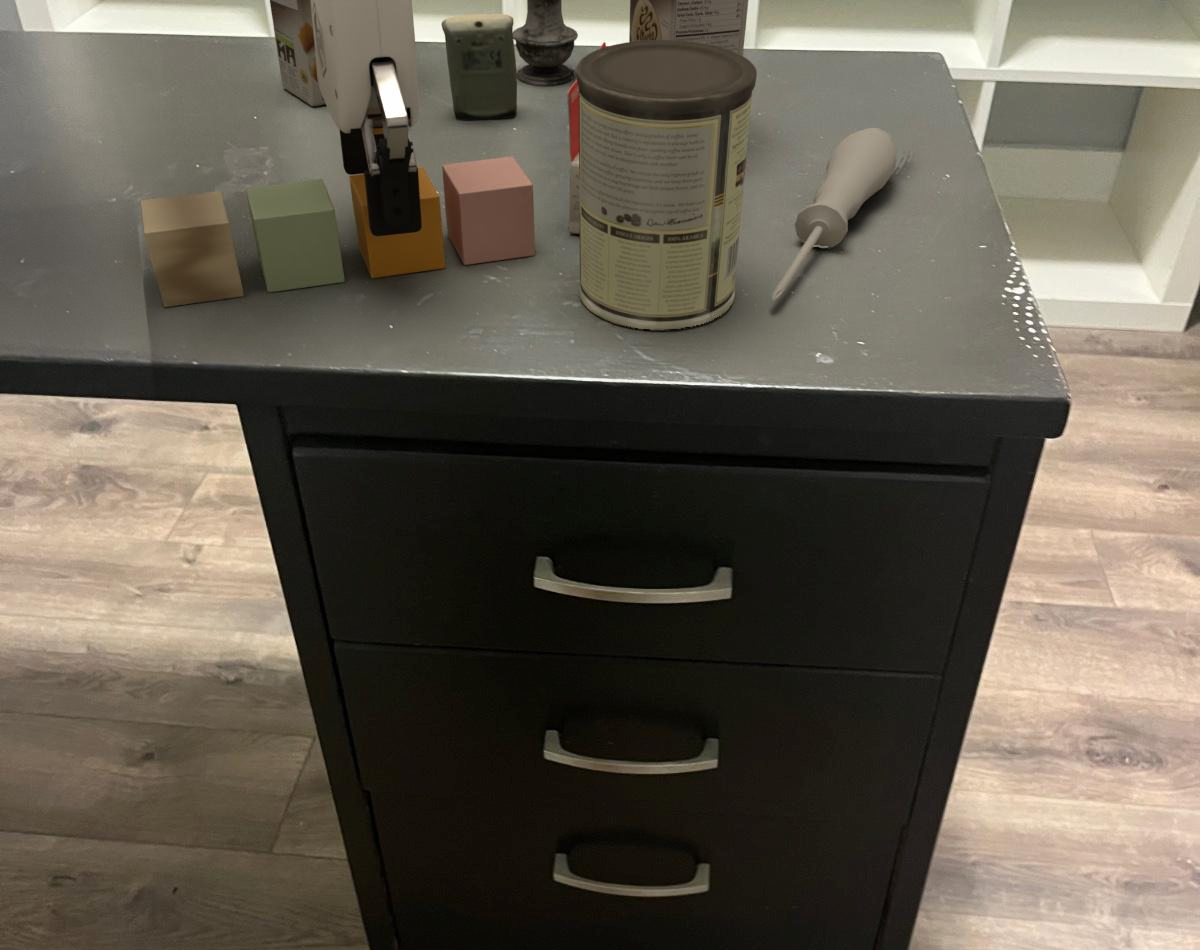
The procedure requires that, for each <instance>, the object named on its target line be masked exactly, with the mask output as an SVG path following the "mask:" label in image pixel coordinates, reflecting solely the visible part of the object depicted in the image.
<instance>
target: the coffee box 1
mask: <svg viewBox="0 0 1200 950" xmlns="http://www.w3.org/2000/svg"><path fill="white" fill-rule="evenodd" d="M269 6H270V11H271V12H270V13H271V17H272V25H273V33H274V37H275V38H274V39H275V40H274V41H275V45H276V52H277V59H278V65H279V66H278V67H279V72H280V78H281V84H282V88H284V90H286V91H288V92H289V93H291V94H293V95H294V96H295V97H296V98H299V99H300V100H301V101H303V102H305V103H306V104H308V105H309V106H311V107H318V106H324V105H326V103H325V101H324V98H323V96H322V93H321V91H320V88H319V84H318V78H317V68H316V56H315V44H314V32H313V21H312V11H311V1H310V0H269Z"/></svg>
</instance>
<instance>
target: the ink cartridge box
mask: <svg viewBox="0 0 1200 950" xmlns="http://www.w3.org/2000/svg"><path fill="white" fill-rule="evenodd" d="M605 47H607V43H606V42H605V41H604V42H602V44H601V45H600V47H599V48H598V50H599V49H602V48H605ZM566 97H567V100H566V101H567V118H568V121H567V122H568V141H569V161H570V162H569V163H570V167H569V207H568V208H569V209H568V232H569V233H571V234H575V235H580V185H579V86H578V83H577V78H576V79H575V81H574V82H573V84H572V85H571V86H570V88H569V89H568V90H567V92H566Z"/></svg>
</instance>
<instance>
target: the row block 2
mask: <svg viewBox="0 0 1200 950" xmlns="http://www.w3.org/2000/svg"><path fill="white" fill-rule="evenodd" d="M245 195H246V199H247V205H248V210H249V215H250V219H251V225H252V230H253V235H254V240H255V247H256V250H257V256H258V260H259V264H260V268H261V272H262V276H263V279H264V283H265V287H266V290H267V293H276V292H282V291H284V292H285V291H291V290H297V289H305V288H312V287H319V286H325V285H333V284H341V283H345V282H346V279H345V278H346V277H345V272H344V265H343V259H342V250H341V245H340V239H339V231H338V224H337V217H336V210H335V207H334V205H333V202H332V199H331V197H330V194H329V192H328V190H327V186H326V184H325V182H324V180H323V178H317V179H311V180H301V181H293V182H285V183H284V182H283V183H276V184H267V185H260V186H251V187H246V188H245Z"/></svg>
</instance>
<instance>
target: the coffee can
mask: <svg viewBox="0 0 1200 950" xmlns="http://www.w3.org/2000/svg"><path fill="white" fill-rule="evenodd" d="M757 72H758V71H757V68H756V66H755V65H754V64H753V63H752V62H751V61H750V60H749V59H748V58H746V57H745V56H744V55H743V56H741V55H740V54H737V53H735V52H733V51H730V50H727V49H724V48H721V47H718V46H713V45H709V44H703V43H698V42H689V41H677V40H642V41H634V42H629V41H628V42H621V43H616V44H612V45H609V46H606V47H605V48H602V49H599V48H598V49H596V50H594V51H592V52H590V53H588V54H587V55H585V56H584V57H583V58H581V59H580V60H579V62H578V63H577V65H576V72H575V73H576V79H577V83H578V86H579V185H580V234H579V285H578V294H579V299H580V302H582V304H583V306H585V307H586V308H587V310H588V311H590V312H591V313H592V314H594V315H596V316H597V317H598V318H600V319H602V320H605V321H607V322H609V321H610V323H612V324H615V325H617V326H618V325H619V326H623V327H626V326H627V328H630V327H631V328H630V329H635V328H638V329H637V330H643V329H650V330H649V331H665V330H664V329H678V330H682V329H681V328H683V329H686V328H685V327H690V328H694V327H697V326H696V325H699V326H702V325H701V324H703V325H705V324H707V323H710V322H712V321H715V320H716V319H715V318H717V317H718V318H720V317H722V316H723V315H724V314H726V312H727V311H728V310H729V309H730V308H731V307H732V305H733V303H734V301H735V297H736V289H735V288H736V274H737V265H738V264H737V263H738V252H739V244H740V232H741V220H742V206H743V197H744V186H745V176H746V165H747V156H748V143H749V131H750V121H751V110H752V109H751V108H752V98H753V91H754V89H755V87H756V81H757V76H758V75H757V74H758V73H757ZM730 306H731V307H730ZM723 313H724V314H723ZM722 314H723V315H722ZM719 316H720V317H719ZM718 318H717V319H718ZM714 319H715V320H714ZM709 321H710V322H709ZM706 322H707V323H706ZM704 323H705V324H704ZM693 326H694V327H693Z"/></svg>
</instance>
